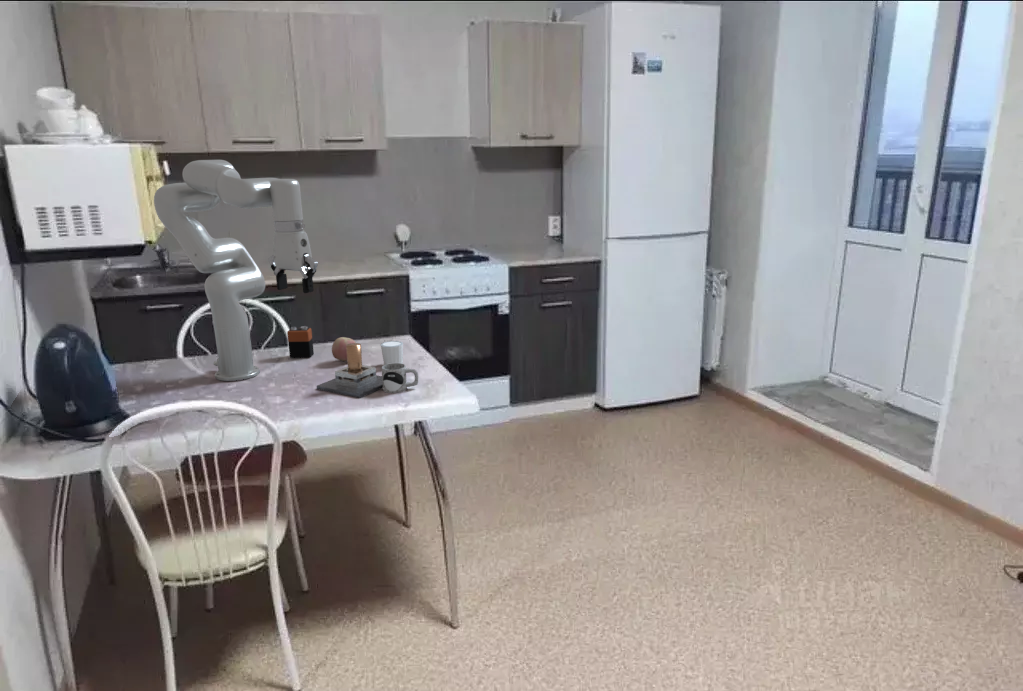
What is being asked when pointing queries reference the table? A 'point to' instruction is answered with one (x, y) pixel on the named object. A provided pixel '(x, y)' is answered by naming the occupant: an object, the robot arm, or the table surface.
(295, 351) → the battery
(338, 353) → the apple
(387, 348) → the shot glass
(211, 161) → the robot arm
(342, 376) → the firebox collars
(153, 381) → the table surface
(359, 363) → the tube
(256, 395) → the table surface
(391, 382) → the mug
